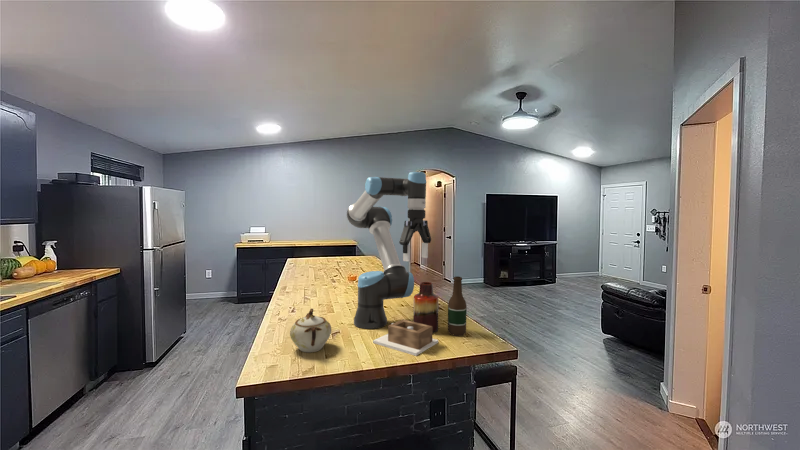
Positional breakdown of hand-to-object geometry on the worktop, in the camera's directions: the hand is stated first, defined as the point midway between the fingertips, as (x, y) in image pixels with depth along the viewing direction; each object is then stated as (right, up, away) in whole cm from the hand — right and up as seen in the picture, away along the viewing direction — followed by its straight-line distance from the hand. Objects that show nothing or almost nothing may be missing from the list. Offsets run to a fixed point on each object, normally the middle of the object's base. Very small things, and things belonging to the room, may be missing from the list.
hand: (415, 259), depth 146 cm
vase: (+5, -31, +5) cm, 32 cm away
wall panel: (-4, -32, -11) cm, 34 cm away
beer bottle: (+17, -32, 0) cm, 36 cm away
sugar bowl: (-40, -32, -17) cm, 54 cm away
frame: (-3, -31, -12) cm, 33 cm away
